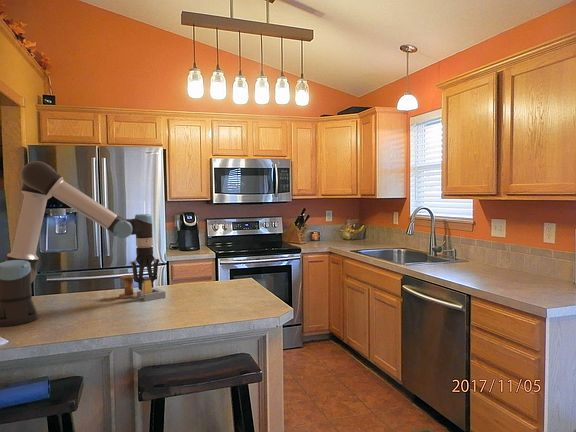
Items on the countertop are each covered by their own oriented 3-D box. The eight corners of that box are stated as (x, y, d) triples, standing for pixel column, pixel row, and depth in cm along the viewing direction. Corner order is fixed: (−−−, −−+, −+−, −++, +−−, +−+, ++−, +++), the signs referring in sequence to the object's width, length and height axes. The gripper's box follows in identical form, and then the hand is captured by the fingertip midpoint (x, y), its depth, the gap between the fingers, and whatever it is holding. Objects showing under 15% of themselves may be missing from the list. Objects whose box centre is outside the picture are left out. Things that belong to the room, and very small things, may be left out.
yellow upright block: (145, 297, 196) (144, 278, 195) (141, 296, 199) (140, 277, 199) (151, 296, 198) (150, 277, 197) (147, 295, 201) (146, 276, 201)
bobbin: (122, 299, 197) (122, 278, 196) (116, 296, 204) (115, 276, 203) (141, 296, 203) (141, 276, 202) (134, 293, 210) (134, 273, 209)
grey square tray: (145, 301, 193) (144, 294, 193) (137, 297, 201) (136, 291, 201) (165, 297, 200) (165, 291, 200) (157, 294, 207) (156, 288, 207)
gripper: (130, 248, 189) (132, 300, 190) (164, 245, 200) (165, 294, 201) (124, 247, 195) (126, 297, 196) (157, 244, 206) (159, 291, 207)
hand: (146, 295), depth 199 cm, fingers closed on yellow upright block, 3 cm apart
